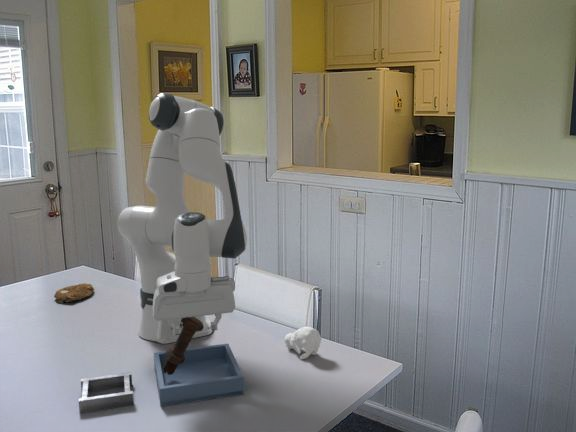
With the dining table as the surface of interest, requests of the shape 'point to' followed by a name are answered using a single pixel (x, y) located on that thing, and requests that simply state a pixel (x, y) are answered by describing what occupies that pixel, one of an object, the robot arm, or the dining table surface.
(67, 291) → the decorative rock
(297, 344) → the white figurine
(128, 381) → the bracket
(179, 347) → the bolt
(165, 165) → the robot arm
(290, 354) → the dining table surface
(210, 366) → the tray
